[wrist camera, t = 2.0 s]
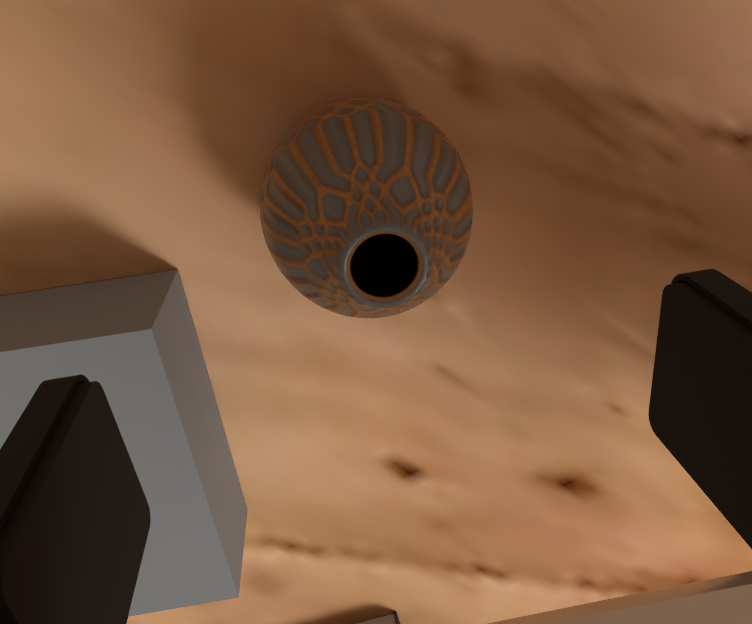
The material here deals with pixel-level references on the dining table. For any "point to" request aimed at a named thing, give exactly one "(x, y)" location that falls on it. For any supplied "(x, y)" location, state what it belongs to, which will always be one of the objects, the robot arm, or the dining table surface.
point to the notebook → (384, 620)
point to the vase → (366, 207)
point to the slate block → (141, 419)
